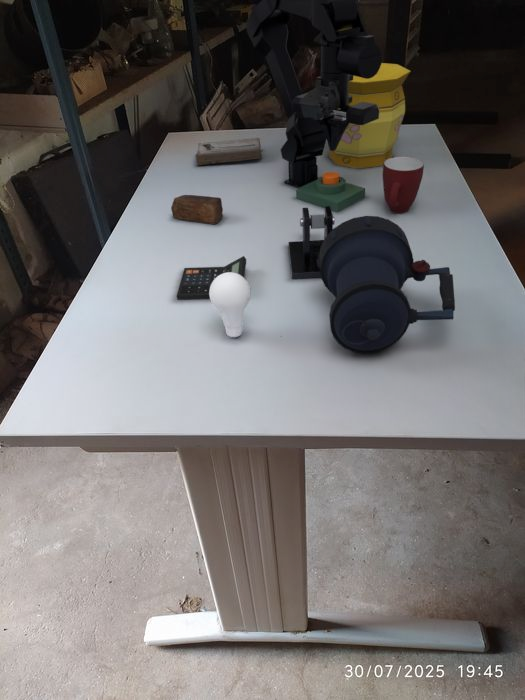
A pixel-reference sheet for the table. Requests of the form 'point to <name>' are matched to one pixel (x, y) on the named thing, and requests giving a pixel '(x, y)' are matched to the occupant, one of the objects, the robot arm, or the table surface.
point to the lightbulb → (230, 300)
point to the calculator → (205, 279)
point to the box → (228, 151)
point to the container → (379, 135)
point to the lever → (317, 221)
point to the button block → (330, 194)
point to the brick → (197, 208)
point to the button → (330, 178)
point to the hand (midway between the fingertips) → (333, 150)
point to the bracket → (308, 248)
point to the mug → (401, 182)
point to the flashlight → (375, 283)
